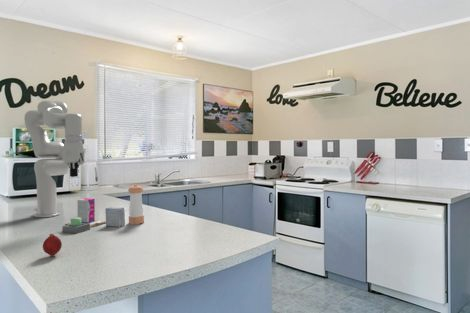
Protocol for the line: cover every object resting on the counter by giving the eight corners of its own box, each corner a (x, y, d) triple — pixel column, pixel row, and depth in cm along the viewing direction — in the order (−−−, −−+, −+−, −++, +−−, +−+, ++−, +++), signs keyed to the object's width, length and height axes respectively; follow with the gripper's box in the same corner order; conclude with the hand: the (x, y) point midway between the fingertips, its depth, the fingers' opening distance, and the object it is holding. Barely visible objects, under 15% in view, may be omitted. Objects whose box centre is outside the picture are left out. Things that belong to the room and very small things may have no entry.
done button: (68, 230, 154) (68, 219, 153) (76, 227, 158) (76, 217, 158) (75, 230, 152) (75, 219, 152) (83, 228, 156) (83, 217, 156)
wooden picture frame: (65, 225, 166) (65, 222, 166) (83, 220, 176) (83, 218, 176) (90, 227, 160) (89, 225, 160) (107, 222, 170) (107, 220, 170)
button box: (62, 231, 153) (62, 226, 153) (77, 227, 160) (76, 222, 160) (75, 233, 150) (75, 227, 150) (89, 229, 157) (89, 223, 157)
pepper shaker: (128, 225, 164) (127, 185, 164) (129, 221, 171) (128, 183, 171) (144, 223, 166) (143, 184, 166) (143, 220, 173) (143, 183, 173)
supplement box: (87, 223, 164) (87, 200, 164) (77, 223, 166) (76, 199, 166) (95, 221, 170) (94, 198, 170) (85, 220, 172) (84, 197, 171)
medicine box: (125, 225, 165) (124, 207, 164) (119, 227, 160) (118, 208, 160) (111, 224, 167) (111, 206, 167) (105, 226, 163) (105, 208, 163)
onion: (47, 253, 121) (47, 231, 121) (64, 253, 122) (64, 230, 122) (39, 259, 116) (39, 235, 115) (57, 258, 116) (56, 235, 116)
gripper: (56, 138, 166) (56, 176, 167) (78, 139, 160) (78, 178, 161) (69, 138, 173) (69, 174, 174) (91, 139, 167) (91, 176, 168)
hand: (73, 176), depth 167 cm, fingers closed
